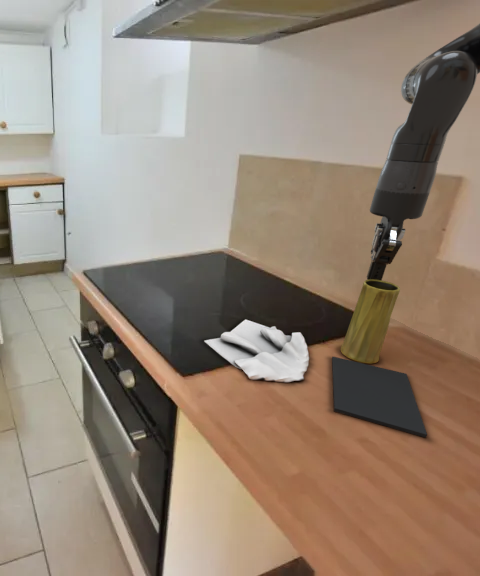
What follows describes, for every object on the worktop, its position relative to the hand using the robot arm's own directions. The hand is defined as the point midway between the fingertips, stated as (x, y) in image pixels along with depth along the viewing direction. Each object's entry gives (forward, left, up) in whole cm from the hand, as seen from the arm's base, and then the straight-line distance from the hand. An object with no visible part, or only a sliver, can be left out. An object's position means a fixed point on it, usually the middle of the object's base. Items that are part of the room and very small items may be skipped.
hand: (373, 280), depth 72 cm
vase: (0, +7, -13) cm, 15 cm away
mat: (-1, +19, -12) cm, 23 cm away
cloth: (+16, +13, -13) cm, 24 cm away
